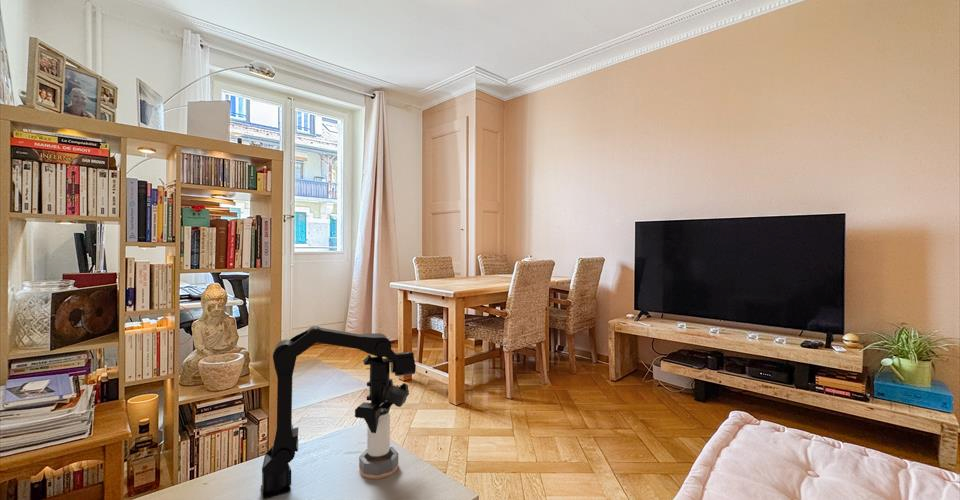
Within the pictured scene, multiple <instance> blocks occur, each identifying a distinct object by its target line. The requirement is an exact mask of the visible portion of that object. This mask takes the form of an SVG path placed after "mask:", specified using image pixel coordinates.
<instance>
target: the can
mask: <svg viewBox="0 0 960 500" xmlns="http://www.w3.org/2000/svg"><path fill="white" fill-rule="evenodd" d="M381 412H383V414H382V415H381V416H380V417H379V420H378V426H377V430H376V434H375V433H371V431H370V429H369V427H368V425H367V424H366V425H367V427H366V429H367V430H366V432H367V434H366V436H367V439H366V449H367V453H368V454H369V455H370V456H372V457H381V456H384V455H386V454H387V453H388V452H389V449H390V447H391V446H390V445H391V444H390V443H391V442H390V438H391V437H390V435H391V415H390V410H389V411H388V409H386V408H381ZM388 412H389V413H388Z"/></svg>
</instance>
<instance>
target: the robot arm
mask: <svg viewBox="0 0 960 500" xmlns="http://www.w3.org/2000/svg"><path fill="white" fill-rule="evenodd" d="M315 344H324V345H330V346H336V347H337V346H338V347H343V348H349V349H355V350H360V351H362V352H364V353H366V354H367V356H366V357H365V358H364V359H363V360H362V363H363V365H364V366H368V365H369V381H367V382H366V387H369V394H368V395H367V396H366V401H370V402H362V403H361V404H360V405H359V406H357V407H356V408H355V409H354V417H355V418H356V419H357V418H358V419H363V420H364V421H365V423H366V425H368V427H369V429H370V431H371V433H375V434H376V430H377V426H378V420H379V417H380V416H381V415H382V414H383V412H381V408H386V409H388V411H389V412H388V413H389V414H390V409H391V407H392V406H393V405H395V407H399V408H401V407H402V406H403V405H404V404H405V403H406V401H407V398H408V396H409V395H410V391H409V385H408V384H407V383H406V382H403V383H402V384H401V385H400V386H399V385H394V381H393V379H392V378H390V372H391V374H394V375H395V376H394V377H401V376H409V375H414V374H416V370H417V368H416V361H415V357H414V355H415V353H414V352H413V351H411V350H410V351H406V352H404V351H403V352H396V351H395V350H394V349H392V342H391V340H390V339H389V338H388V337H387V336H386V335H385V334H384V333H379V332H378V333H364V334H363V333H362V334H360V333H354V332H348V331H341V330H336V329H330V328H324V327H319V326H316V325H313V326H311V327H309V328H308V329H306V330H305V331H302V332H301V333H299V334H296V335H295V336H293V337H292V338H290V339H283V340H280V341H279V342H278V343H277V344H276V345H275V348H274V350H273V353H272V360H273V365H274V371H275V374H276V379H277V382H276V383H277V387H276V391H277V395H276V401H277V402H276V405H277V406H276V429H275V435H274V440H273V445H272V446H271V447H270V448H269V449H268V450H267V451H266V452H265V453H264V458H263V461H262V462H263V463H262V467H261V485H260V489H261V494H262V499H265V500H266V499H268V498H273V497H276V496H279V495H282V494H285V493H289V492H291V487H290V486H291V485H292V468H291V466H290V465H289V463H291V462H292V461H293V459H294V458H295V456H296V452H299V427H298V426H297V427H295V428H294V427H293V421H292V420H293V415H292V414H293V375H294V370H295V366H296V361H297V357H299V356H300V355H301V354H303V353H304V352H306V351H307V350H308V349H310V347H313V345H315ZM371 355H372V356H371Z"/></svg>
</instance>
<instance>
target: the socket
mask: <svg viewBox="0 0 960 500" xmlns="http://www.w3.org/2000/svg"><path fill="white" fill-rule="evenodd" d="M358 459H359V461H358V462H359V464H358V465H359V466H358V469H359V470H358V473H359V474H360V476H361V477H363V478H365V479H367V480H368V479H369V480H381V479H385V478H387V477H390V476H392V475H394V474H395V473H396V472H397V471H398V470H399V469H398V468H399V452H398V450H396V448H395V447H393V446H390V449H389V452H388V453H387V454H386V455H384V456H381V457H372V456H370V455H369V454H368V453H367V448H366V449H365V450H364V451H363V452H362V454H360V455H359V457H358Z"/></svg>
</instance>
